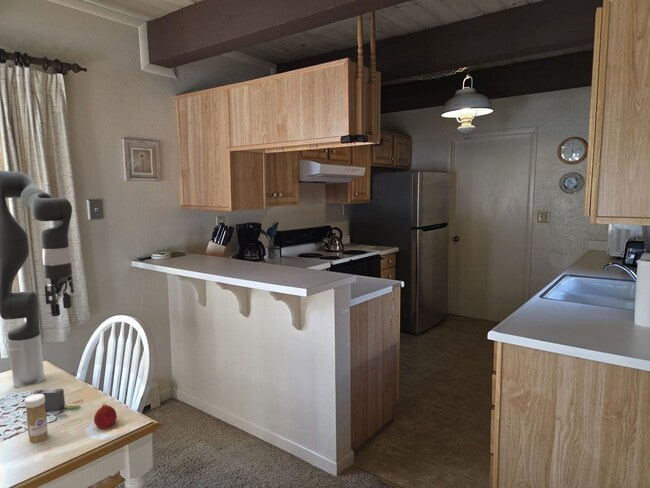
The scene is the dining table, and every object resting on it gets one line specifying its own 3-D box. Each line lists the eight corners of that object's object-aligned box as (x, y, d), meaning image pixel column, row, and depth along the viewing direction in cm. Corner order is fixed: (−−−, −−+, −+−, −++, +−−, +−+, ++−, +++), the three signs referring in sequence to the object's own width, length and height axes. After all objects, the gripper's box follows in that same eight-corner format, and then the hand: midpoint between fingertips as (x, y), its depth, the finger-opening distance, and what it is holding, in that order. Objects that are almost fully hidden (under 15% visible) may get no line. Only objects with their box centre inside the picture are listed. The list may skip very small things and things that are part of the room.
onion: (122, 425, 126) (120, 400, 125) (106, 436, 121) (104, 410, 120) (106, 422, 128) (104, 397, 127) (90, 433, 123) (88, 406, 122)
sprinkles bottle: (36, 449, 115) (31, 402, 114) (25, 445, 117) (20, 399, 115) (53, 440, 120) (48, 394, 118) (41, 436, 121) (36, 391, 119)
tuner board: (28, 411, 135) (27, 407, 135) (82, 397, 144) (82, 392, 144) (31, 434, 122) (31, 430, 122) (90, 417, 131) (90, 413, 131)
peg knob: (33, 412, 131) (31, 394, 131) (37, 408, 134) (35, 390, 133) (78, 409, 133) (76, 390, 132) (81, 405, 136) (80, 387, 135)
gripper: (54, 258, 142) (59, 306, 144) (32, 266, 128) (38, 319, 130) (79, 257, 143) (83, 305, 145) (60, 265, 129) (65, 318, 131)
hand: (62, 311), depth 137 cm, fingers open, 8 cm apart
